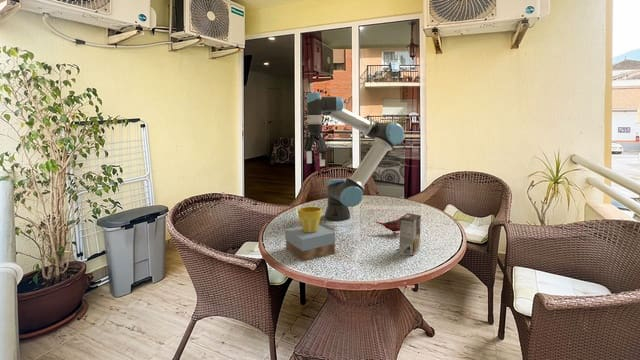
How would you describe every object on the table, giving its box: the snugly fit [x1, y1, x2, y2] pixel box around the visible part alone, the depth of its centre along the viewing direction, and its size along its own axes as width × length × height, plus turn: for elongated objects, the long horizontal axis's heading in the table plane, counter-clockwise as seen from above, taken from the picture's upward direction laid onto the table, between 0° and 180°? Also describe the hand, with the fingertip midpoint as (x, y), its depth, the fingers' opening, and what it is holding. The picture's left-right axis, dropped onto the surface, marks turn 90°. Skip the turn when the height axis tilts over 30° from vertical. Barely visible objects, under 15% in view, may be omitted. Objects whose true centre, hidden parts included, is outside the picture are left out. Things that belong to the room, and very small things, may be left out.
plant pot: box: [297, 206, 323, 233], centre depth 151 cm, size 10×10×10 cm
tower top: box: [284, 224, 336, 251], centre depth 152 cm, size 16×16×5 cm
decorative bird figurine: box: [375, 215, 404, 235], centre depth 174 cm, size 3×18×10 cm, turn 80°
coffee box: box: [398, 212, 422, 256], centre depth 151 cm, size 9×6×16 cm
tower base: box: [285, 239, 336, 262], centre depth 153 cm, size 16×16×5 cm
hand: (315, 164), depth 181 cm, fingers open, 13 cm apart
